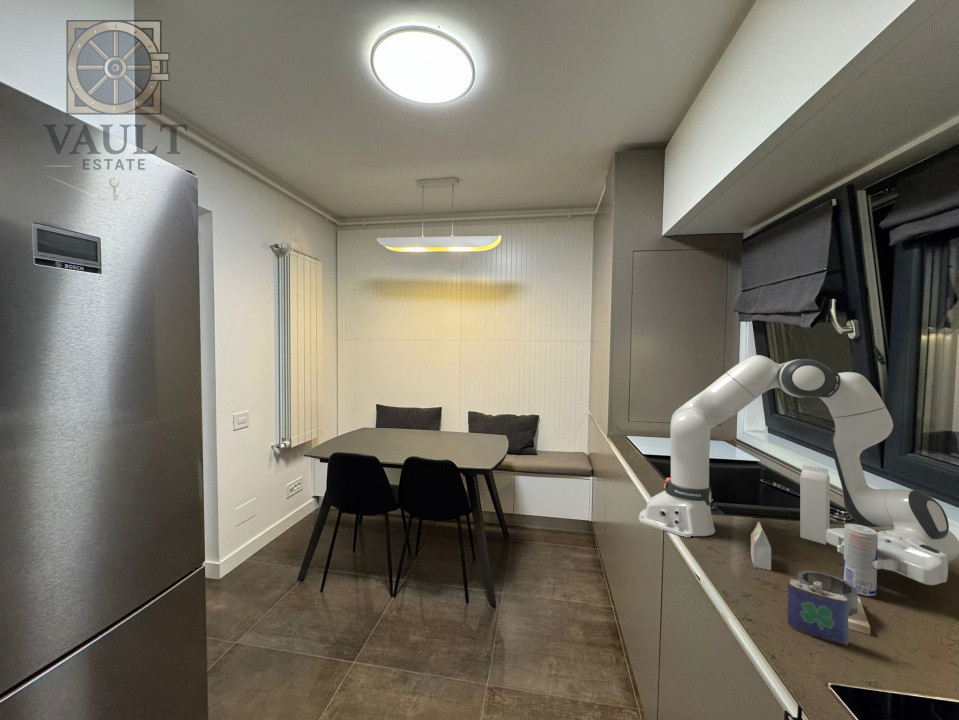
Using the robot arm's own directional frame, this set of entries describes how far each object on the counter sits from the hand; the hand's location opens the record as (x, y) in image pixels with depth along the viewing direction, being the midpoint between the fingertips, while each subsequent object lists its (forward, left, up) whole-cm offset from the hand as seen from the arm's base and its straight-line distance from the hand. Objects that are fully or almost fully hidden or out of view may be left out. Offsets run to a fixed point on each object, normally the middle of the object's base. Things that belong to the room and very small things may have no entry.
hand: (856, 556), depth 90 cm
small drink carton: (-18, +2, -8) cm, 20 cm away
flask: (-9, -25, -8) cm, 27 cm away
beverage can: (+1, +1, -8) cm, 8 cm away
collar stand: (-6, -12, -8) cm, 16 cm away
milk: (-5, +29, -8) cm, 30 cm away
